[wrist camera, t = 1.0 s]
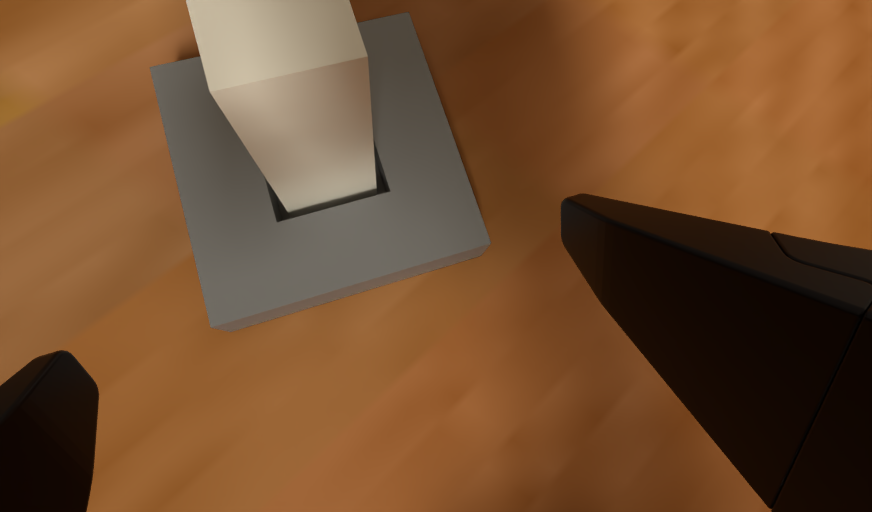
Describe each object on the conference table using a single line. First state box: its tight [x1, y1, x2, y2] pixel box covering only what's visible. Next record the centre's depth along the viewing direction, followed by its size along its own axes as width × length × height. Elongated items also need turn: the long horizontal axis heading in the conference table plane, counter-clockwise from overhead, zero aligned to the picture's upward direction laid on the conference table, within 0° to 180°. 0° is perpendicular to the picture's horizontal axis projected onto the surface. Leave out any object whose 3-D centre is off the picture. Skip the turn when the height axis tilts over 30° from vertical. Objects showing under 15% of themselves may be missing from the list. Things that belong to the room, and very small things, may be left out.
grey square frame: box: [150, 12, 491, 332], centre depth 22 cm, size 12×12×2 cm
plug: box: [186, 0, 377, 218], centre depth 18 cm, size 4×4×11 cm
